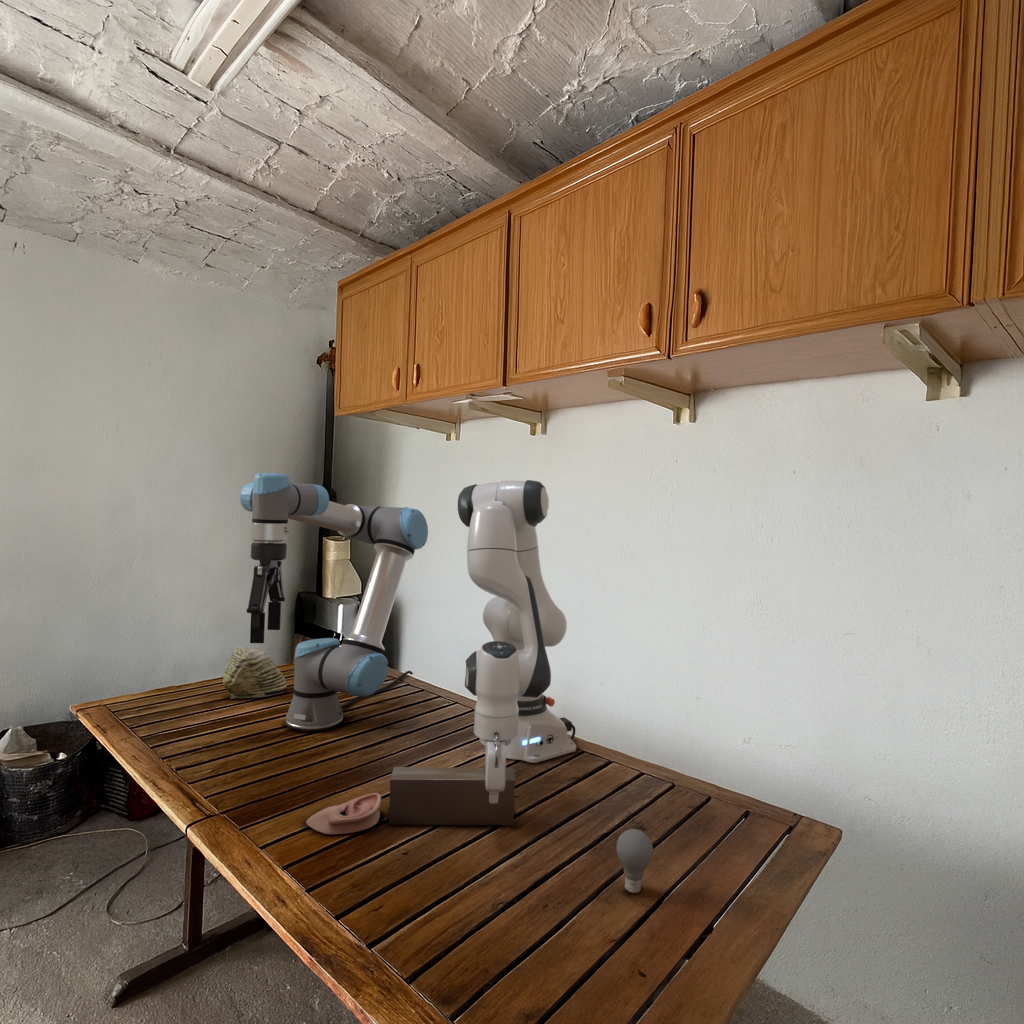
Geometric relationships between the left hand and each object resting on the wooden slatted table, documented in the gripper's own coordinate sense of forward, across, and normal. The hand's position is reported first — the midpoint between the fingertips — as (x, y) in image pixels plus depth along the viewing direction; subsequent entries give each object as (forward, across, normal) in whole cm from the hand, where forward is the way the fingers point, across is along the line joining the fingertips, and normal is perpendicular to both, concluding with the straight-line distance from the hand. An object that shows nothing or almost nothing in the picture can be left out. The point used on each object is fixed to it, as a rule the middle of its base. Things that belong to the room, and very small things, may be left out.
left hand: (265, 636), depth 142 cm
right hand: (+26, -21, -51) cm, 61 cm away
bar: (+31, -21, -43) cm, 57 cm away
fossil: (+31, +57, +18) cm, 68 cm away
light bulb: (+31, -46, -72) cm, 91 cm away
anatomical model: (+31, -21, -22) cm, 44 cm away
